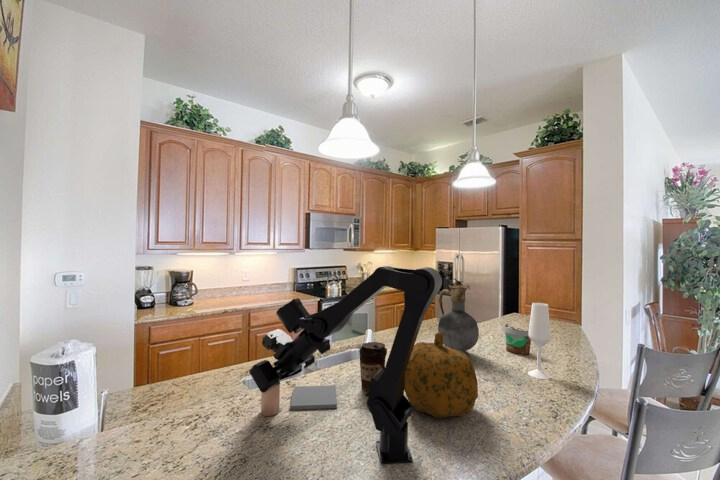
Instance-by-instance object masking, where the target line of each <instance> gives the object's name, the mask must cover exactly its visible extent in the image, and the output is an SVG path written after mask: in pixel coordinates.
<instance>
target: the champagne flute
mask: <svg viewBox="0 0 720 480" xmlns="http://www.w3.org/2000/svg"><path fill="white" fill-rule="evenodd" d="M549 312H550V310H549V304H548V303H544V302H532V304H531V310H530V317H529V326H528V327H529V328H528V331H529V333H528V336H529V338H530V339H531V343H533V344H534V345H535V346H537V347H536V348H537V352H536V353H537V355H536V369H533V370H529V371H528V372H527V374H528V375H529V376H530V377H532V378H536V379H538V380H539V379H540V380H549V379H550V378H551V376H550V375H549V374H548V373H547V372H545V371H544V370H542V347H544V346H546V345H547V344H549V342H550V341H551V339H552V335H551V334H552V332H551V331H552V330H551V324H550V323H551V322H550V313H549Z"/></svg>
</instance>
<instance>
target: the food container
mask: <svg viewBox="0 0 720 480" xmlns="http://www.w3.org/2000/svg"><path fill="white" fill-rule="evenodd" d="M502 331H503V332H504V338H505V339H504V340H505V349H506V351H507V352H508V353H510V354H513V355H517V356H530V354H531V353H530V352H531V345H532V344H531V343H532V341H531V339H530V338H529V336H528V333H529V330H524V329H522V328H519V327H512V326H509V323H506V324H504V326H503V330H502Z"/></svg>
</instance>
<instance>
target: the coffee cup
mask: <svg viewBox="0 0 720 480" xmlns="http://www.w3.org/2000/svg"><path fill="white" fill-rule="evenodd" d="M358 351H359V366H360V369H359V370H360V372H359V373H360V381H361V389H362V390H363V391H365V392H368V391H369V387H370V381H371V378H372V377H373V376H375V375H376V374H377V373H378V372H379V371H380V370H381V369H384V370H385V366H386V358H387V354H388V349H387V348H386V344H385V343H383V342H378V341H369V342H364V343H362V344H361V346H360V348H359V350H358Z"/></svg>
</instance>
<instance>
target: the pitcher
mask: <svg viewBox="0 0 720 480" xmlns="http://www.w3.org/2000/svg"><path fill="white" fill-rule="evenodd" d="M452 279H453V280H454V281H455V282H453V281H451V282H450V281H449V285H448V287H449V288H450V290H449V289H447V288H446V289H445V288H444V289H442V290H441V291H440V292H439V294H438V303H439V308H440V311H441V314H442V315H441V317H440V318H439V320H438V324H437V333H442V334H443V346H447V347H449V348H451V349H454V350H458V351H462V352H464V353H465V354H466V355H467V356H468V355H469V354H468V352H467V351H469V350H471V349H473V348H474V346H476V344H477V342H478V340H479V337H480V330H479V325H478V323H477V320H476V319H475V318H474V317H473V316H472V315H471V314H470V313H468V312H466V311H465V310H466V309H465V308H466V307H465V306H466V305H465V304H466V303H465V302H466V293H467V290H469V291H471V290H472V288H471V286H470V285H466V284H465V285H464V284H463V281H462V280H458V279H457V278H454V277H453V278H452ZM445 294H447V295H448V296H450V300H451V301H450V302H451V310H449V311H447V312H446V313H445V311H444V308H443V296H444V295H445Z"/></svg>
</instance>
